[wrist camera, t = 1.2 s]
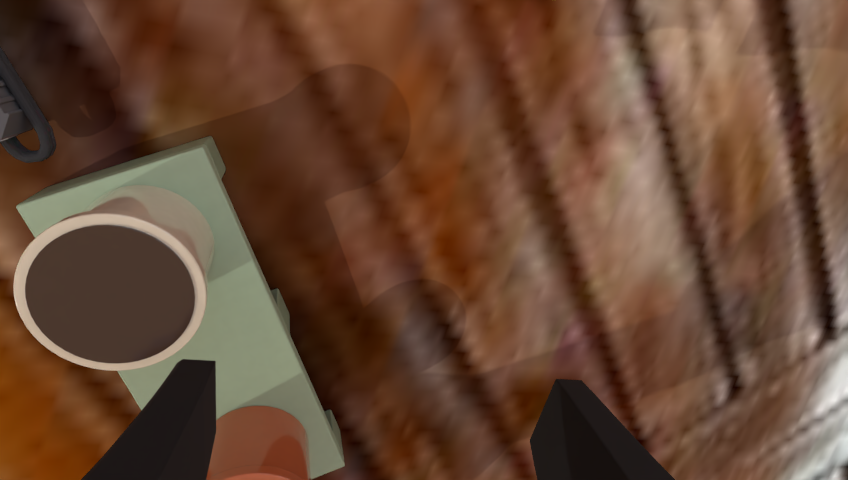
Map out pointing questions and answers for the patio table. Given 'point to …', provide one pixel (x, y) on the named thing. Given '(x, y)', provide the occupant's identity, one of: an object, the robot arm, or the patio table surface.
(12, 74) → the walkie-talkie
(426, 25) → the patio table surface
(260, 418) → the terracotta pot
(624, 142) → the patio table surface
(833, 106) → the patio table surface
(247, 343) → the sage green baseplate
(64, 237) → the cream pot
